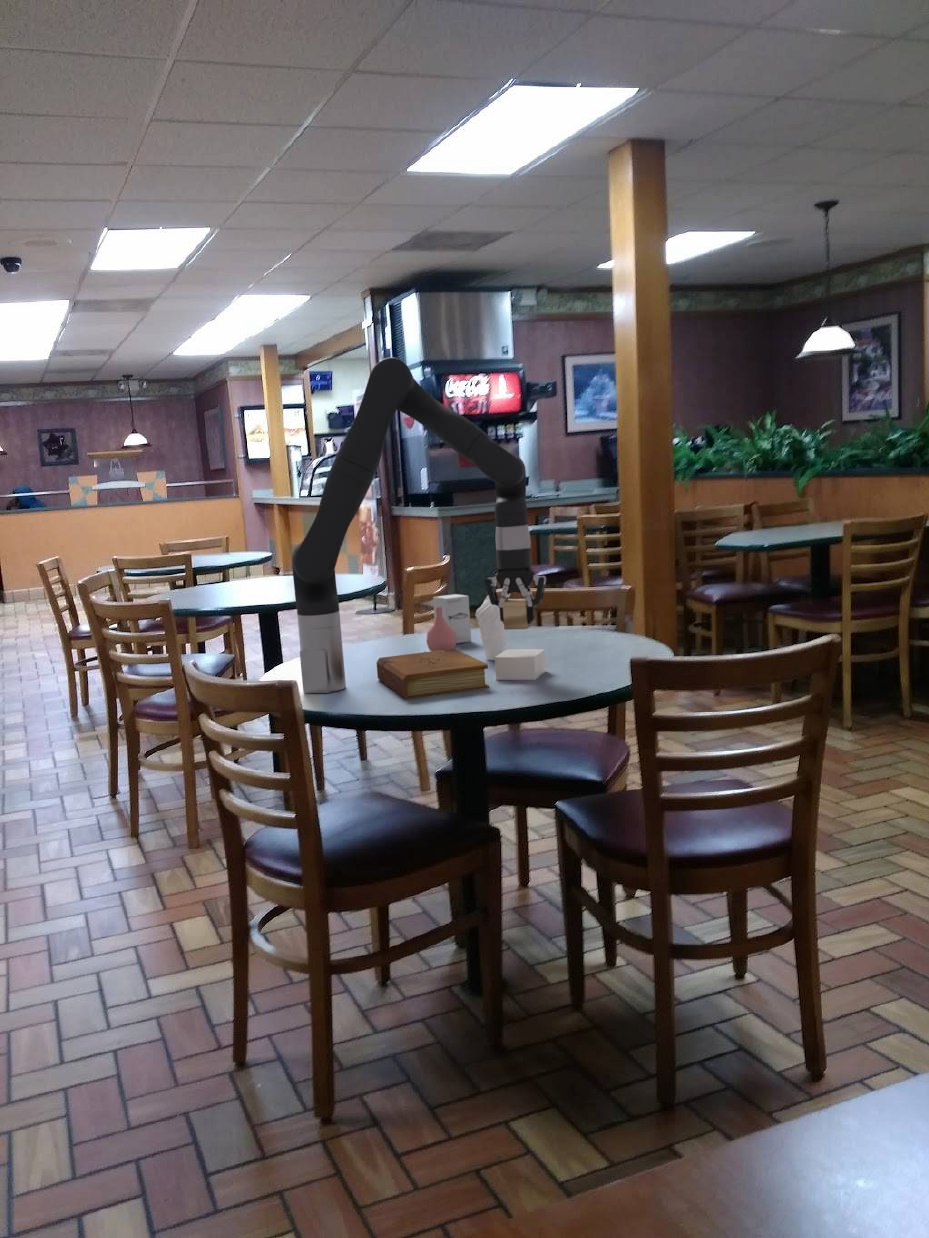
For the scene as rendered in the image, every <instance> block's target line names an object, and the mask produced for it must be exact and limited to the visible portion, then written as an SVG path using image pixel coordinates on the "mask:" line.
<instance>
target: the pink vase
mask: <svg viewBox="0 0 929 1238" xmlns="http://www.w3.org/2000/svg"><path fill="white" fill-rule="evenodd" d="M436 614H437V617H436V620H435V619H434V622H433V625H432V626H431V628H429V629H428V631H427V633H426V645H427V648H428V651H429V652H430V651H438V650H446V649H456V644H457V643H456V636H455V632H454V630H453V629H452V628H451V627H450V626H449V625H448V624H447V623H446V621H445V619H444V618H443V614H442V607H436Z"/></svg>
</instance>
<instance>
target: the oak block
mask: <svg viewBox="0 0 929 1238" xmlns="http://www.w3.org/2000/svg"><path fill="white" fill-rule="evenodd" d="M527 607H528V605H527V603H526V601H525V599H524V598H509V599H508V600H506V601H505V602H503V617H504V630H507V631H508V630H528V629H529V628H530V627H532V626H533V623H531V624H528V621H527Z"/></svg>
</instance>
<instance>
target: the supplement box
mask: <svg viewBox="0 0 929 1238" xmlns="http://www.w3.org/2000/svg"><path fill="white" fill-rule="evenodd" d="M469 599H470V598H469V595H466V594H465V595H464V594H460V593H459V594H458V593H455V594H453V593H452V594H446V595H440V596H439V595H438V596H433V597H432V601H433V615H434V616H433V618H434V621H435V620H436V617H437V614H436V607H442V614H443V618H444V619H445V621H446V623H447V624H448V625H449V626H450V627H451V628H452V629H453V630H454V632H455V636H456V644H461V643H470V642H472V629H471V617H470V616H471V615H470V614H471V613H470V600H469Z"/></svg>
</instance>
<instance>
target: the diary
mask: <svg viewBox="0 0 929 1238" xmlns="http://www.w3.org/2000/svg"><path fill="white" fill-rule="evenodd" d="M487 669H488V670H489V664H488V663H486V662H483V661H481V659H477V658H475V657H473V656H471V655H469V654H467V653H465V652H463V651H460V650H458V649H457V648H455V649H446V650H438V651H430V650H429V651H424V652H416V653H407V654H400V655H391V656H384V657H379V658H378V659H377V661H376V671H377V672H376V673H377V675H376V676H377V679H378V680H379V681H381V682H382V684H384V685H386V686H387V687H388V686H389V688H390V689H391V690H393V691H394V692H395V693H397V694H398V695H399V694H400V695H399V696H400V697H402V698H403V699H405V700H406V699H407V700H412V699H419V698H420V697H421V698H427V697H428V698H429V697H433V695H435V696H441V694H442V695H449V694H455V693H463V692H469V691H471V692H472V691H478V690H483V689H484V690H485V689H489V688H490V685H488V684H486V674H485V673H486V672H485V670H487Z"/></svg>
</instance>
